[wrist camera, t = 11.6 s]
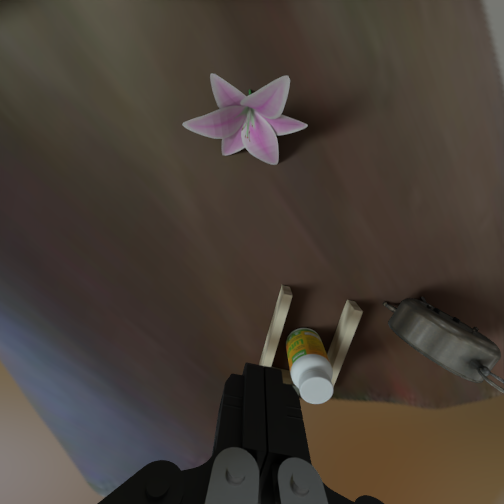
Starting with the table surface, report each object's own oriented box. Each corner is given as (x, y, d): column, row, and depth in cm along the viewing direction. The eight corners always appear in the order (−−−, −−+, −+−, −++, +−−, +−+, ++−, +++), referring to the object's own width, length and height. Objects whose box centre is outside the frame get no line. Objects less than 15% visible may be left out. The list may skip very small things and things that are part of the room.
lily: (182, 121, 34) (170, 156, 27) (225, 14, 27) (223, 27, 20) (262, 165, 39) (268, 204, 32) (316, 84, 32) (338, 113, 25)
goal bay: (281, 285, 39) (284, 295, 35) (355, 301, 39) (364, 313, 36) (256, 371, 43) (257, 387, 40) (323, 385, 43) (328, 402, 40)
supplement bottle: (296, 320, 40) (308, 365, 31) (327, 335, 41) (348, 383, 32) (279, 348, 42) (285, 398, 32) (309, 362, 42) (324, 415, 33)
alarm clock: (370, 308, 40) (444, 395, 24) (391, 277, 38) (484, 348, 23) (432, 337, 41) (541, 439, 25) (454, 308, 39) (585, 396, 24)
